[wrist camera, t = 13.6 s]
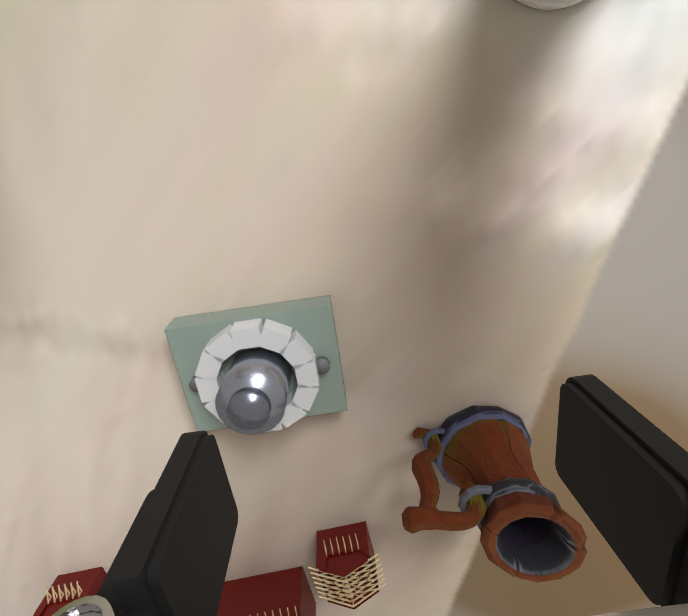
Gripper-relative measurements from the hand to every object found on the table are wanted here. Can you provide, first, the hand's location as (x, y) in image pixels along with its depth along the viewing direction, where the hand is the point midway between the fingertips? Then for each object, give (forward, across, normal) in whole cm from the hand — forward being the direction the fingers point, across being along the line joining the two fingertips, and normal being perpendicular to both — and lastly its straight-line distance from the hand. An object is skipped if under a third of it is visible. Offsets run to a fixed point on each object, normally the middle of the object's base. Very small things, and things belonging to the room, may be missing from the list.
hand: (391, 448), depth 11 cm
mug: (+31, -10, +26) cm, 41 cm away
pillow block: (+30, +10, +12) cm, 34 cm away
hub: (+27, +10, +12) cm, 31 cm away
